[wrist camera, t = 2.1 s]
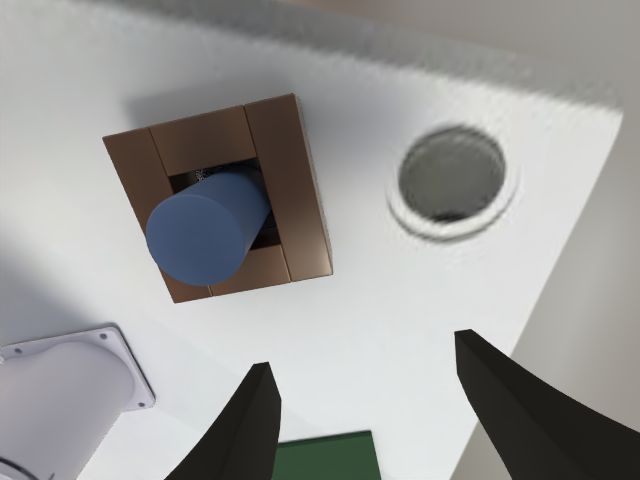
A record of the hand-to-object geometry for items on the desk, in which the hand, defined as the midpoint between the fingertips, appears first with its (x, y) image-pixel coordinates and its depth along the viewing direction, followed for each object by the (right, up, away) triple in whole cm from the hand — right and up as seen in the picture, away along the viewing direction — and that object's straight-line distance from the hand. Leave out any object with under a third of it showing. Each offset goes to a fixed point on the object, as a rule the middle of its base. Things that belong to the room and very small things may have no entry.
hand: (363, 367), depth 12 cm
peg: (-7, +8, +8) cm, 13 cm away
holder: (-7, +8, +8) cm, 13 cm away
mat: (-1, -17, +18) cm, 25 cm away
